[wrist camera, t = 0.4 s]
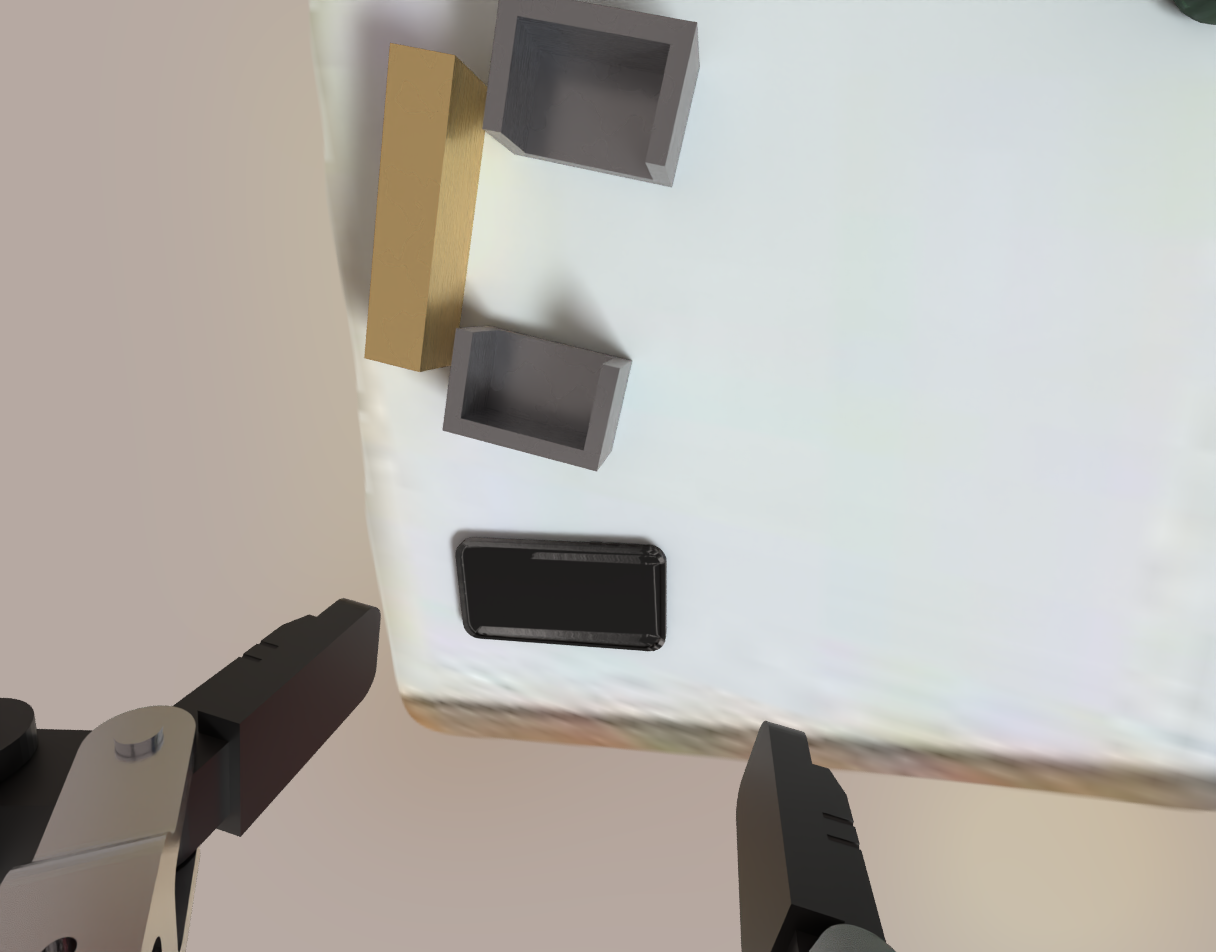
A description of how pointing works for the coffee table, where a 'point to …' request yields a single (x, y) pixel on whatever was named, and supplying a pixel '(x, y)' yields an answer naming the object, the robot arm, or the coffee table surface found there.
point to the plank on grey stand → (585, 138)
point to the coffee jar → (1199, 10)
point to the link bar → (424, 207)
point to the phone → (563, 592)
